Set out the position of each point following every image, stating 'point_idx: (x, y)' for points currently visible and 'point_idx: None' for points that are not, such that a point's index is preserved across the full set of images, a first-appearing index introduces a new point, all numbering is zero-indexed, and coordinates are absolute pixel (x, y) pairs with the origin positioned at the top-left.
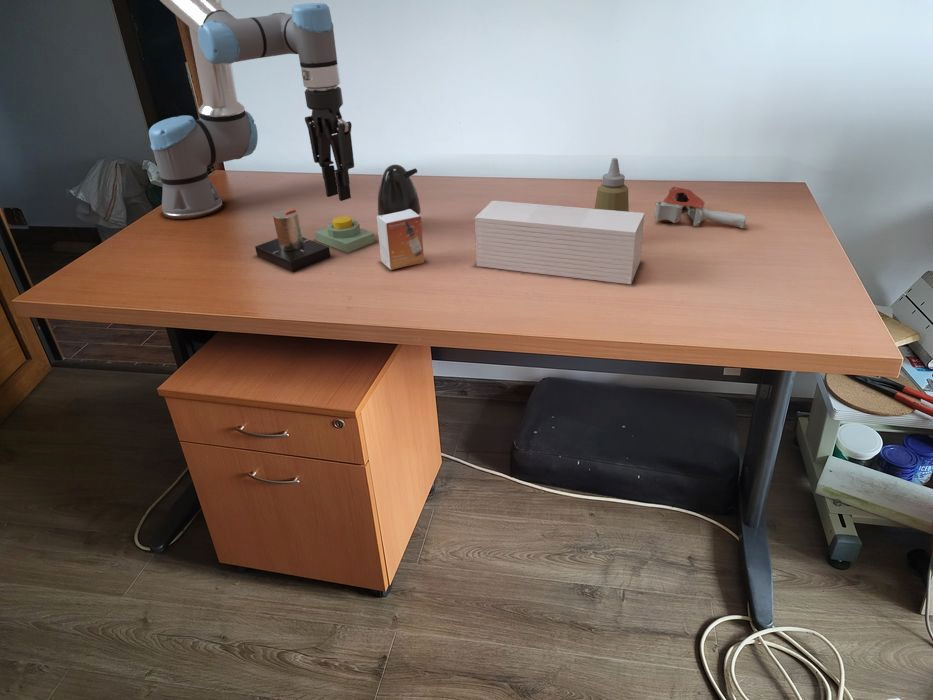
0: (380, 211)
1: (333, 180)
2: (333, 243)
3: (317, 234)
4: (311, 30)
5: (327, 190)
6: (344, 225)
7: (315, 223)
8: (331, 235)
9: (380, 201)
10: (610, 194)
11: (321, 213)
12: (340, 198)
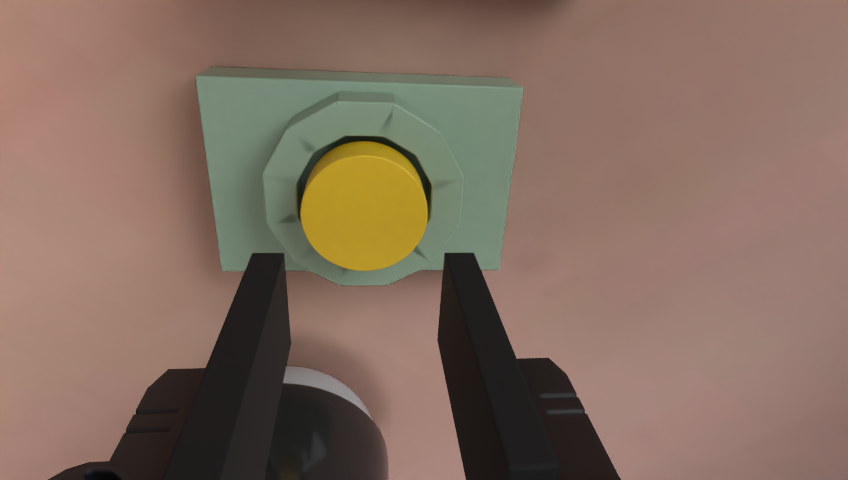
0: (291, 412)
1: (458, 408)
2: (339, 75)
3: (495, 85)
4: None
5: (456, 284)
6: (308, 182)
7: (684, 229)
8: (361, 94)
9: (284, 463)
10: None
11: (740, 317)
12: (258, 264)
